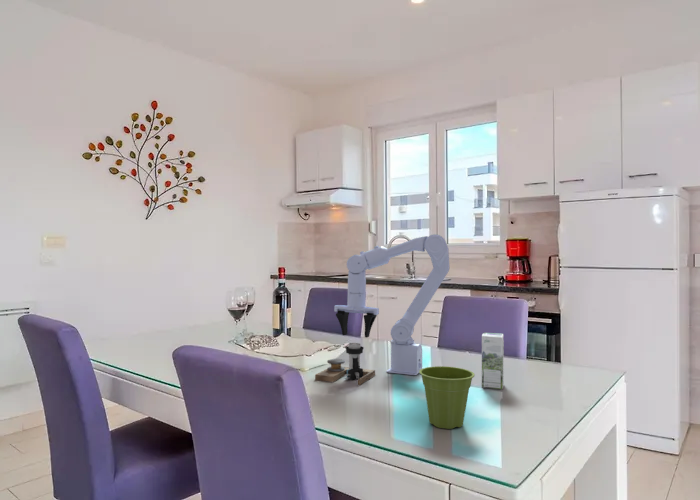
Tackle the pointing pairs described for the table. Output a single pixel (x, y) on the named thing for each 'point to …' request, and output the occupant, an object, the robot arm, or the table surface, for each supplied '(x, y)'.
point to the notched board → (341, 372)
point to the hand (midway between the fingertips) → (355, 335)
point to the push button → (354, 361)
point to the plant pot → (446, 394)
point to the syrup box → (492, 360)
